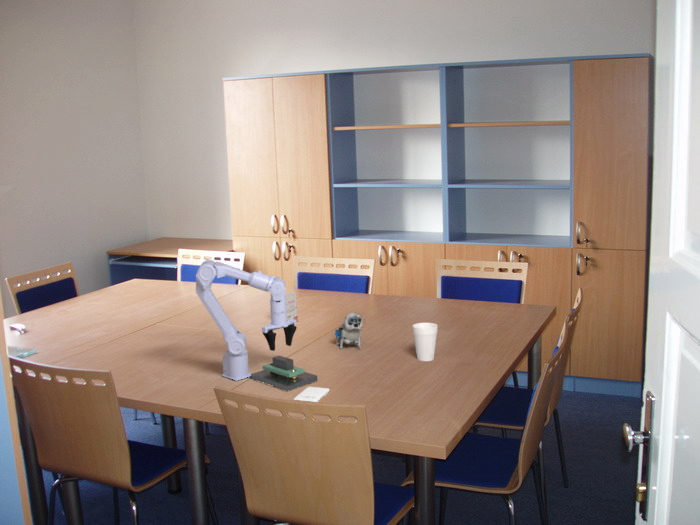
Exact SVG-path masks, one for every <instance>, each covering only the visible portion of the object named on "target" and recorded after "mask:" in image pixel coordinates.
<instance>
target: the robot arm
mask: <svg viewBox="0 0 700 525" xmlns="http://www.w3.org/2000/svg"><path fill="white" fill-rule="evenodd" d="M224 277H229V278H233V279H236V280H240V281H243V282H247V283H248V285H249V287H251V288H254V289H256V290H261V291H264V292H266V293H267V292H269V294H270V299H269V302H270V304H269V305H270V321H271V322H270V323H269V324H266V325H264V326H262V327H261V332H262V334H263V336H264V338H265V340H266V342H267V345H268V348H269V350H270V351H272V352H273V351H276V339H277V338H276V337H277V333H276V332H274V331H276V330H279V329H283V332H284V337H285V338H284V339H285V345H286V346H287V347H291V346H292V344H293V339H294V335H295V333H296V331H297V326H296V325H297V322H296V320H295V319H290V320H287V308H286V298H285V296H286V294H287V293H286V290H287V287H286V282H285V280H284V279H283V278H281V277H279V276H274V275H268V274H265V273H263V271H261V270H258V271H253V272H247V271H245V270H242V269H240V268H238V267H237V268H236V267H234V266H232V265H229V264H225V263H223V262H220V261H214V260H211V259H207V260H204V261H203V262H202V263H201V264H200V266H199V267H198V269H197V272H196V274H195V293H196V294H197V296H198V298H199V299H200V301H201V302H202V304H203V305H204V307H205V308H206V310H207V312H208V314H209V315H210V316H211V318H212V320H213V321H214V323H215V324H216V326H217V328H218V329H219V331H220V332H221V333H222V336H223V340H224V341H225V342H226V347H227V351H226V352H224V354H223V356H222V368H223V371H222V372H223V373H222V374H221V376H222V377H224V378H227V379H229V378H230V380H232V379H233V381H236V382H239V381H242V380H244V379H248V378H251V377H250V376H251V374H252V373H251V372H250V371H249V370H250V369H249V354H248V352H249V351H248V349H246V344H247V337H246V335H245V334H244V333H243V332H241V331H240V330H239V329H238V328H237V327H236V325H234V323H233V322H232V320H231V319H230V318H229V317H230V316H228V314H227V313H226V311H225V309H224V308H223V306H222V305H221V303H220V302H219V299H217V297H216V295H215V294H214V292H213V291H212V289H211V288H212V284H213V281H214V280H215V278H217V279H220V278H224ZM247 377H248V378H247ZM241 379H242V380H241ZM238 380H239V381H238Z"/></svg>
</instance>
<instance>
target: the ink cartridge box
mask: <svg viewBox="0 0 700 525" xmlns="http://www.w3.org/2000/svg"><path fill="white" fill-rule="evenodd" d="M285 294H286V296H285V298H286V308H287V320H290V319H295V320H296V323H298V320H299V318H298V316H299V315H298V306H297V305H298V304H297V303H298V301H297V298H298V297H297V292H296V291H295V290H294V291H291V292H288V293H285Z"/></svg>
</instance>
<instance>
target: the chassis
mask: <svg viewBox="0 0 700 525" xmlns="http://www.w3.org/2000/svg"><path fill="white" fill-rule="evenodd" d="M294 371H295V370H294V369H292V372H294ZM251 378H252V379H254V380H253V381H255V380H258V381H261V382H264V383H267V384H270V385H273V386H275V387H278V388H281V389H284V390H286V391H285V392H289V391H288V390H290V391H292V390H291V389H293V390H295V389H294V388H296V389H298V388H297V387H299V388H302V387H304V386H303V385H305V386H307V385H306V384H308V385H310V384H313V383H316V382H318V375H316V374H313V373H310V372H306V371H305V373H302V374H299V375H296V376H293V377H290V378H289V377H286V376H283V375H280V374H277V373H274V372H271V371H268V370H265V369H262V370H259V371H256V372H252V373H251V377H250V379H251ZM252 379H251V380H252ZM258 381H257V382H258ZM315 381H316V382H315ZM261 382H260V383H261ZM312 382H313V383H312ZM309 383H310V384H309ZM301 386H302V387H301ZM275 387H274V388H275ZM278 388H277V389H278ZM281 389H280V390H281ZM284 390H283V391H284Z"/></svg>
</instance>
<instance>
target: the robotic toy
mask: <svg viewBox="0 0 700 525" xmlns="http://www.w3.org/2000/svg"><path fill="white" fill-rule="evenodd" d="M360 315H361V313H360V312H358V313H357V312H355V311H353V312H349V313H347V315H346V316H345V317H344V321H343V323H342V324H341V325H340V327H338V329H335V330H334V335H335V336H336V338H337V339H336V343H335V344H336V346H339V349H340V350H343V344H346V345H357V348H358V349H359V350H360V349H362V346H361V338H362V332H363V330H362V329H363V328H365V326H363V323H366V320H365V318H363V319H362V317H363V316H360ZM363 320H364V321H363Z"/></svg>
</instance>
